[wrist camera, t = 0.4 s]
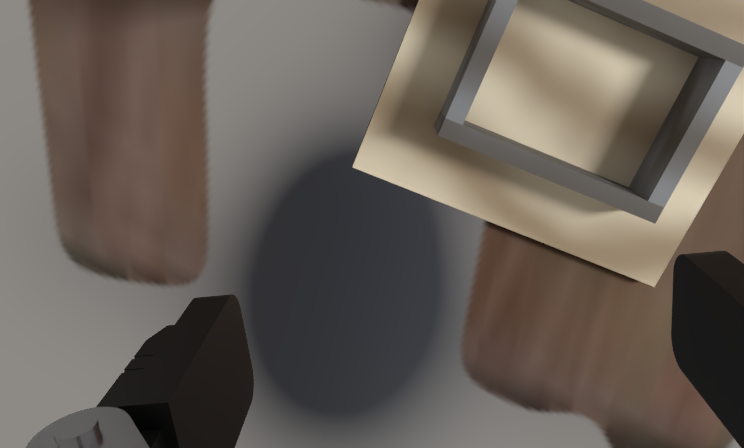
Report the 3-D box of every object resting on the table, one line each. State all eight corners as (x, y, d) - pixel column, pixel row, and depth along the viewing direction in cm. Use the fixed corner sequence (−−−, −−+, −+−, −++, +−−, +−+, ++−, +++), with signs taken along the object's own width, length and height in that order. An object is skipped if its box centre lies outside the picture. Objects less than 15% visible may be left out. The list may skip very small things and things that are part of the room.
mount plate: (477, -149, 34) (489, -171, 30) (809, 0, 36) (860, -2, 32) (353, 163, 39) (349, 179, 35) (648, 280, 41) (674, 307, 37)
